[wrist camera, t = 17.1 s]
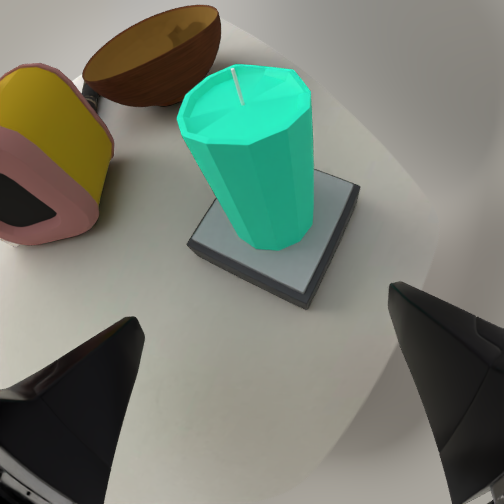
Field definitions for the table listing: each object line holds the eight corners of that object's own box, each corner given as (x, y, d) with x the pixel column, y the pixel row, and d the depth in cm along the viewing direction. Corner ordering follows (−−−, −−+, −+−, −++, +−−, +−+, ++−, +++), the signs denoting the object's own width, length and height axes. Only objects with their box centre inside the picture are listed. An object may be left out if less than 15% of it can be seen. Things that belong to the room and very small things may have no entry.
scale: (356, 202, 23) (361, 181, 20) (306, 310, 21) (306, 303, 18) (254, 164, 26) (247, 143, 23) (197, 255, 24) (182, 241, 21)
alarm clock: (20, 253, 29) (-83, 189, 12) (39, 185, 33) (-43, 112, 16) (118, 233, 26) (-28, 109, 9) (134, 149, 30) (44, 27, 13)
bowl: (127, 162, 30) (79, 104, 21) (113, 97, 37) (84, 54, 28) (261, 92, 30) (243, 21, 21) (211, 47, 37) (193, -2, 28)
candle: (297, 263, 19) (278, 130, 8) (218, 236, 21) (133, 114, 10) (325, 189, 20) (326, 42, 9) (251, 170, 22) (206, 37, 11)
